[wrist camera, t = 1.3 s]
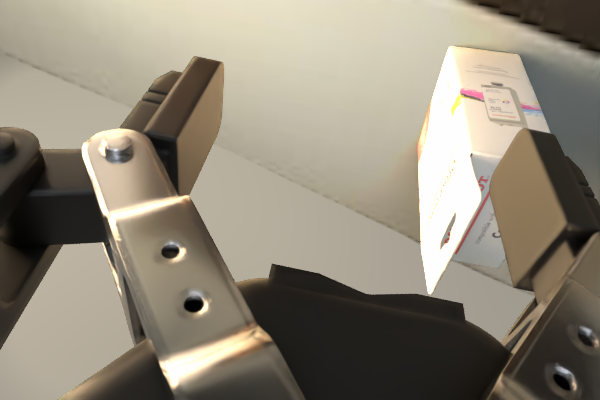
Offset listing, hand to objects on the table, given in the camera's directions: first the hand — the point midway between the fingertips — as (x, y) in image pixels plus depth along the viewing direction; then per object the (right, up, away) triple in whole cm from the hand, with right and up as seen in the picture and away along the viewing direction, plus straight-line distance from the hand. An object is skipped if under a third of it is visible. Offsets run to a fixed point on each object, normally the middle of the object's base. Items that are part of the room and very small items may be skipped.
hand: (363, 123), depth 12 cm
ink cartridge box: (+10, +5, +21) cm, 24 cm away
